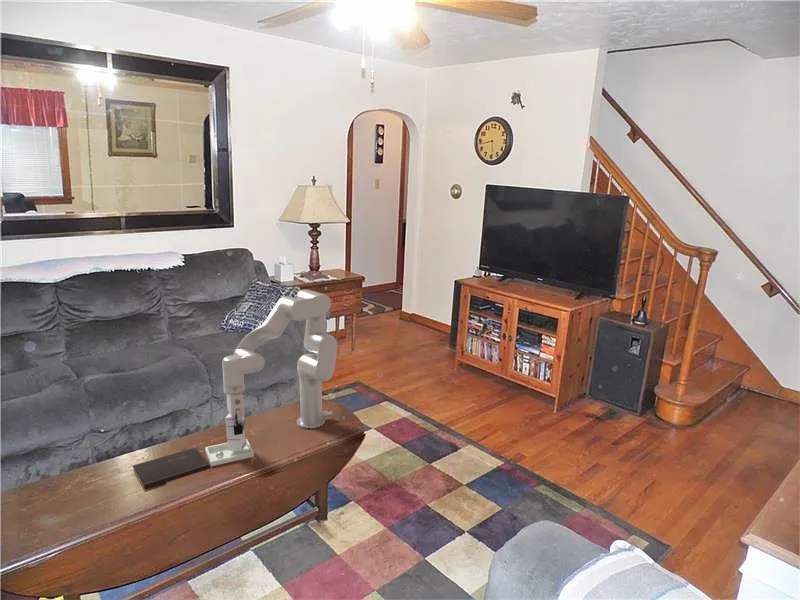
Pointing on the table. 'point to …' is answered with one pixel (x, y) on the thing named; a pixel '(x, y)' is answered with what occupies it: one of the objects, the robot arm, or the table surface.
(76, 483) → the table surface
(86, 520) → the table surface
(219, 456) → the mixing ball
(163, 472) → the hardcover book
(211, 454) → the tray
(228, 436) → the syrup box
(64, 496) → the table surface
